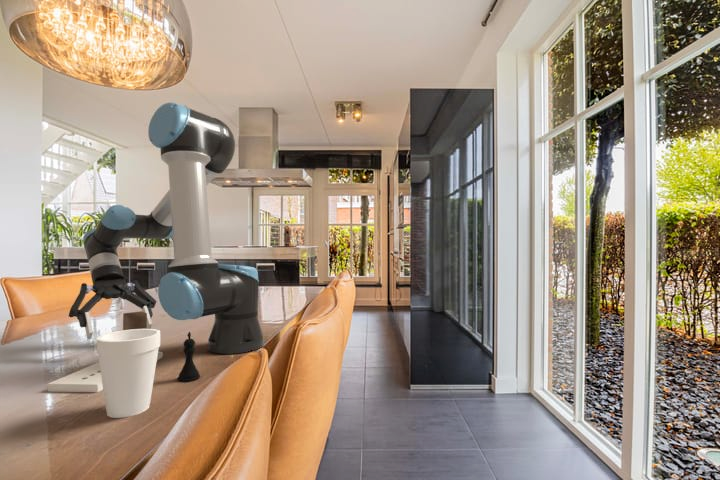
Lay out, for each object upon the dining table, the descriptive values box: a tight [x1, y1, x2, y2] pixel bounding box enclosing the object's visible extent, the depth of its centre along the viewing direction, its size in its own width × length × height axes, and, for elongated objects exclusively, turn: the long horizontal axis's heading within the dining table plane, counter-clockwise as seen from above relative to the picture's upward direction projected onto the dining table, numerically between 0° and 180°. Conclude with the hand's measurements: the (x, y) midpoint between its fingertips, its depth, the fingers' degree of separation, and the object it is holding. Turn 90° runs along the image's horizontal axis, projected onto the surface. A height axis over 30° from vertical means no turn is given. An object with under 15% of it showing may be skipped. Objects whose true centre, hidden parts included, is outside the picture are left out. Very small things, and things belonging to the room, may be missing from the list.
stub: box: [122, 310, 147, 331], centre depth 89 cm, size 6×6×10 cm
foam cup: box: [96, 328, 161, 419], centre depth 63 cm, size 10×9×13 cm
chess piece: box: [177, 331, 201, 383], centre depth 78 cm, size 4×4×10 cm
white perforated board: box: [47, 351, 164, 393], centre depth 82 cm, size 10×22×2 cm, turn 178°
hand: (121, 331), depth 96 cm, fingers open, 13 cm apart
